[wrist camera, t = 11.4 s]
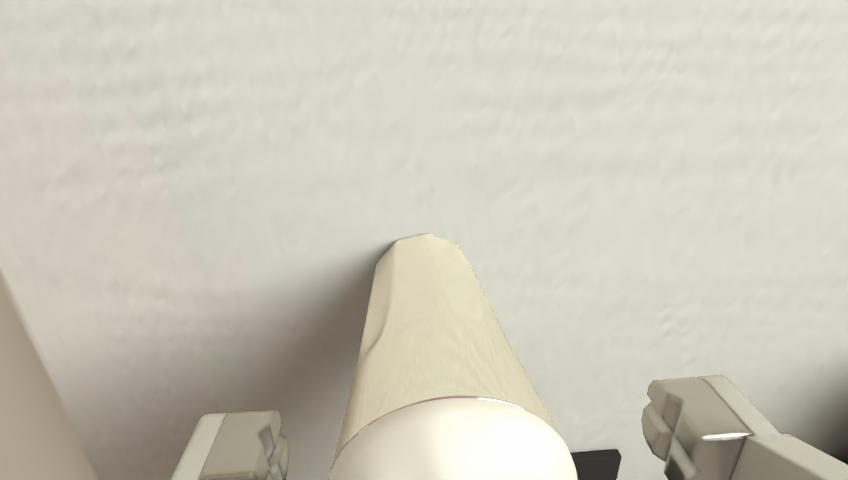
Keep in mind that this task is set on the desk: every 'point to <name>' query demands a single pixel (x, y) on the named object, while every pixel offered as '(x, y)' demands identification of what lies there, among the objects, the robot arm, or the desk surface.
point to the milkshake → (441, 382)
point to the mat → (597, 464)
